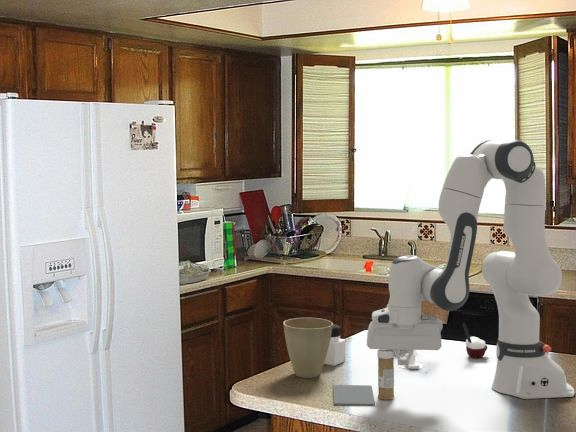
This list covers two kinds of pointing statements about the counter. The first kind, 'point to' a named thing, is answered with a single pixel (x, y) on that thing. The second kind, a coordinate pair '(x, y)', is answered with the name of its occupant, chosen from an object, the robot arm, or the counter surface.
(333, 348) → the medicine bottle
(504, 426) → the counter surface
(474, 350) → the cocoa
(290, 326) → the plant pot
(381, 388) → the sprinkles bottle
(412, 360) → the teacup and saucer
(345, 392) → the mat
